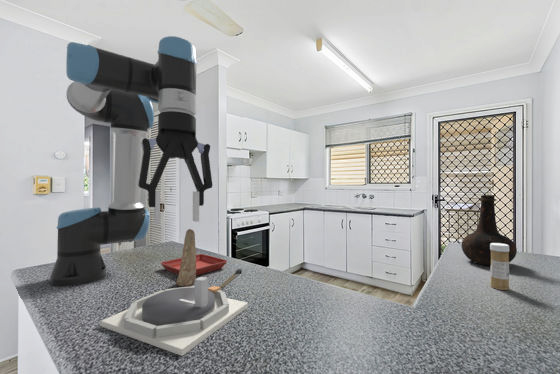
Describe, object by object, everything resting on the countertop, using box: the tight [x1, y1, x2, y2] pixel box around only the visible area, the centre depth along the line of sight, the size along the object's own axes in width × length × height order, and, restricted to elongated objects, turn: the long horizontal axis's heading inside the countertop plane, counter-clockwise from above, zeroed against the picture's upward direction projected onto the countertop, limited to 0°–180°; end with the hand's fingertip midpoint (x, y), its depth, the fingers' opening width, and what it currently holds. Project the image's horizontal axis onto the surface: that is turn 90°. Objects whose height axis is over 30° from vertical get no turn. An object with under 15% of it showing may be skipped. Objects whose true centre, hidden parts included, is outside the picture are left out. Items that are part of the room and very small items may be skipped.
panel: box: [100, 285, 249, 357], centre depth 63 cm, size 24×22×4 cm
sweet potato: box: [175, 228, 197, 288], centre depth 84 cm, size 6×18×6 cm
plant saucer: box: [160, 253, 228, 276], centre depth 101 cm, size 18×18×3 cm
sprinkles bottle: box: [490, 243, 510, 291], centre depth 82 cm, size 5×5×14 cm
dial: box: [142, 276, 215, 326], centre depth 63 cm, size 16×16×8 cm
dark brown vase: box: [460, 194, 518, 267], centre depth 109 cm, size 18×18×28 cm
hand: (177, 221), depth 57 cm, fingers open, 7 cm apart
